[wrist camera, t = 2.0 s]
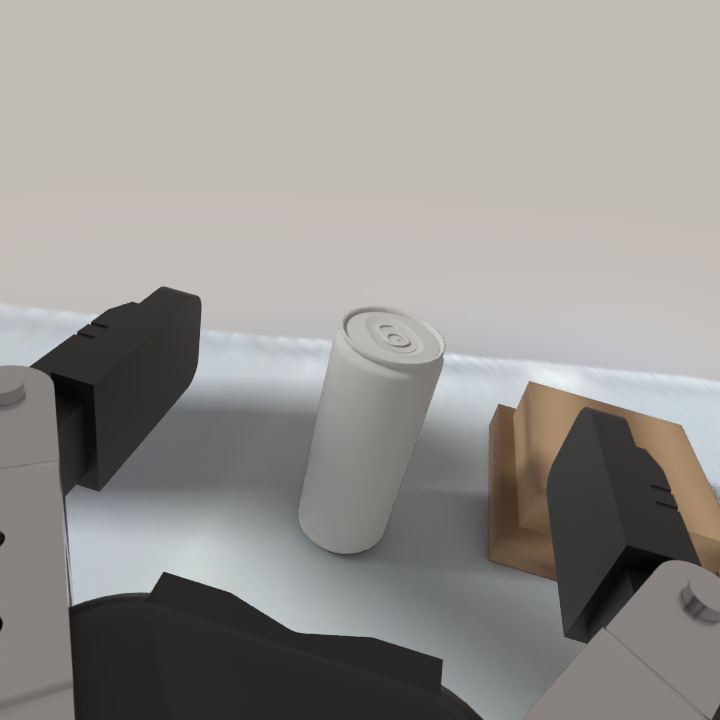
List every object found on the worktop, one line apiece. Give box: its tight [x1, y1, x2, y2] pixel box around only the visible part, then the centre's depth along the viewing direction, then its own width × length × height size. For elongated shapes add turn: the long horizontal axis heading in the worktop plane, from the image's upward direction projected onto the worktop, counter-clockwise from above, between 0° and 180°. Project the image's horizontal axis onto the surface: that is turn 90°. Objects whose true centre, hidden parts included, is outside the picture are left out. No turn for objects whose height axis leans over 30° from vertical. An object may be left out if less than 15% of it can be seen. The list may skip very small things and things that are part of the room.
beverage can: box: [298, 306, 445, 554], centre depth 27 cm, size 5×5×12 cm
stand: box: [488, 381, 720, 581], centre depth 34 cm, size 12×12×5 cm
